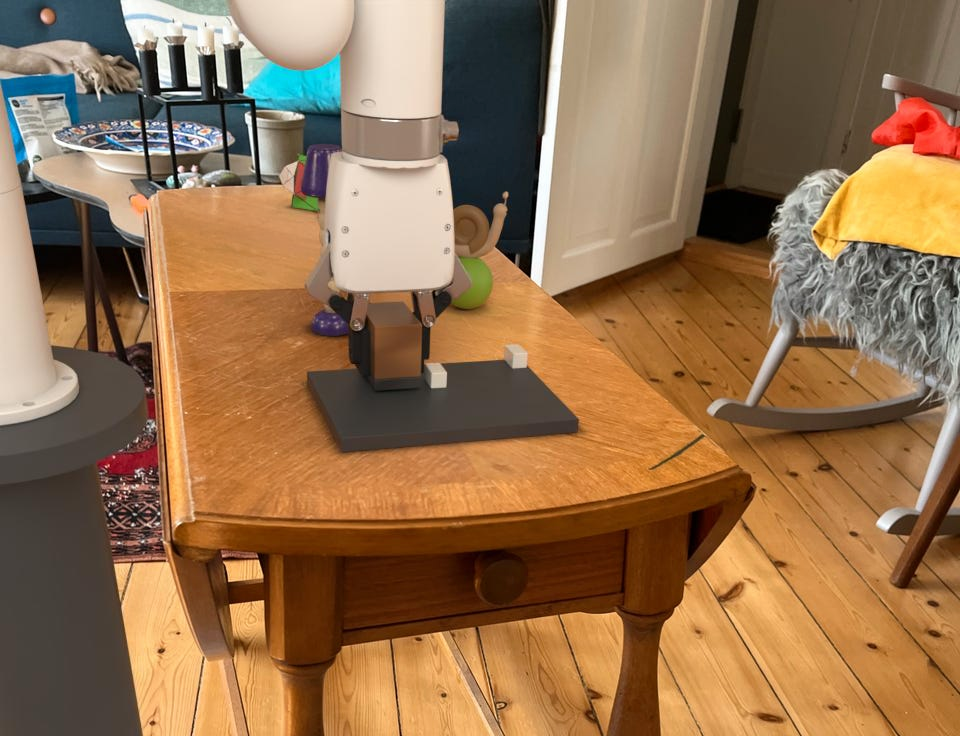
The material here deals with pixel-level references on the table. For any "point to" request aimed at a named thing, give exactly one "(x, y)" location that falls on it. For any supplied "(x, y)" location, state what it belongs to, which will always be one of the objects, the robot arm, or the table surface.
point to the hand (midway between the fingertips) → (389, 367)
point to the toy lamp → (322, 227)
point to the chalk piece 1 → (435, 375)
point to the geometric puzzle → (297, 184)
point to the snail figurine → (476, 249)
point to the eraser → (394, 346)
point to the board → (440, 407)
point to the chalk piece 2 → (515, 356)
